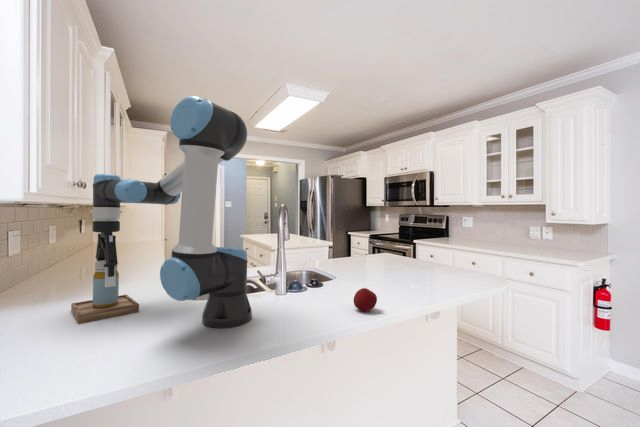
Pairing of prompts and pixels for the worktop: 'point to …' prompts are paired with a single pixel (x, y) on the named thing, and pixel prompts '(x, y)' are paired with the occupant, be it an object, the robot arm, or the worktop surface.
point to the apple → (365, 300)
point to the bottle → (104, 288)
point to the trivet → (103, 309)
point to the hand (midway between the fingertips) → (105, 282)
